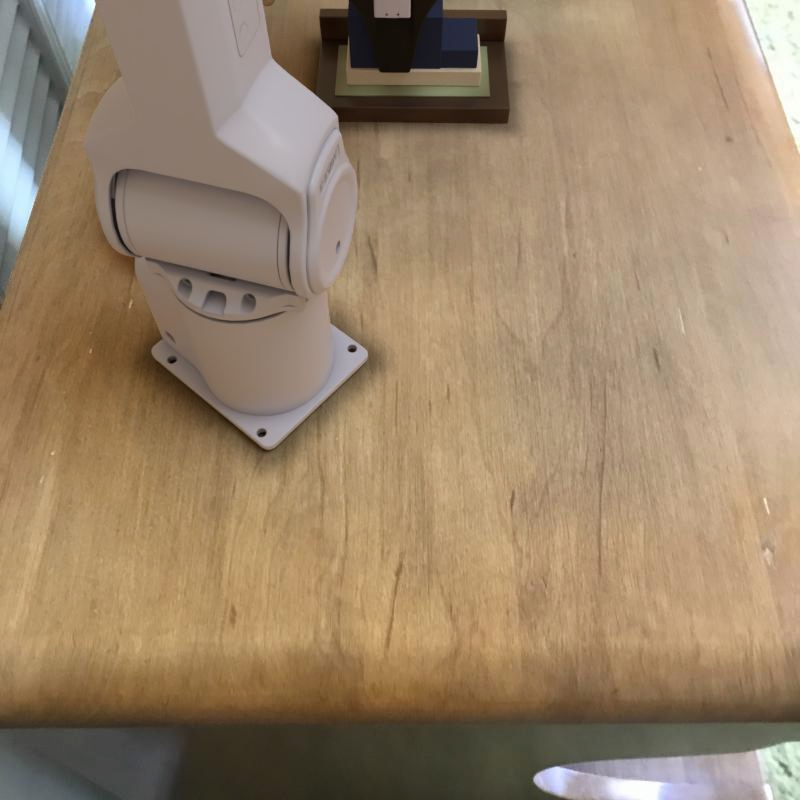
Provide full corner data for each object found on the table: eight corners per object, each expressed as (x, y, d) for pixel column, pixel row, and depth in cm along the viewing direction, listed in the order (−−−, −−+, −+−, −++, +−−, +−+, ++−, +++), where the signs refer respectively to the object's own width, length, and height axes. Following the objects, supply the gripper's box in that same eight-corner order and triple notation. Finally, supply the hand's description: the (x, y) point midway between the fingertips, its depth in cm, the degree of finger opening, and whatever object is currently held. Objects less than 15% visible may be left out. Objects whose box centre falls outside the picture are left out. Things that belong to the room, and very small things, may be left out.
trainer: (346, 85, 56) (342, 18, 52) (349, 47, 58) (345, -20, 54) (480, 86, 56) (486, 19, 52) (477, 48, 58) (484, -19, 54)
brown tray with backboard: (316, 121, 56) (311, 84, 54) (323, 45, 60) (319, 7, 58) (508, 123, 56) (513, 86, 54) (502, 47, 60) (506, 9, 58)
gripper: (473, -98, 41) (456, 123, 52) (465, -238, 48) (452, -16, 60) (328, -99, 41) (344, 122, 52) (343, -238, 48) (354, -17, 60)
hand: (395, 49), depth 56 cm, fingers closed on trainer, 3 cm apart
